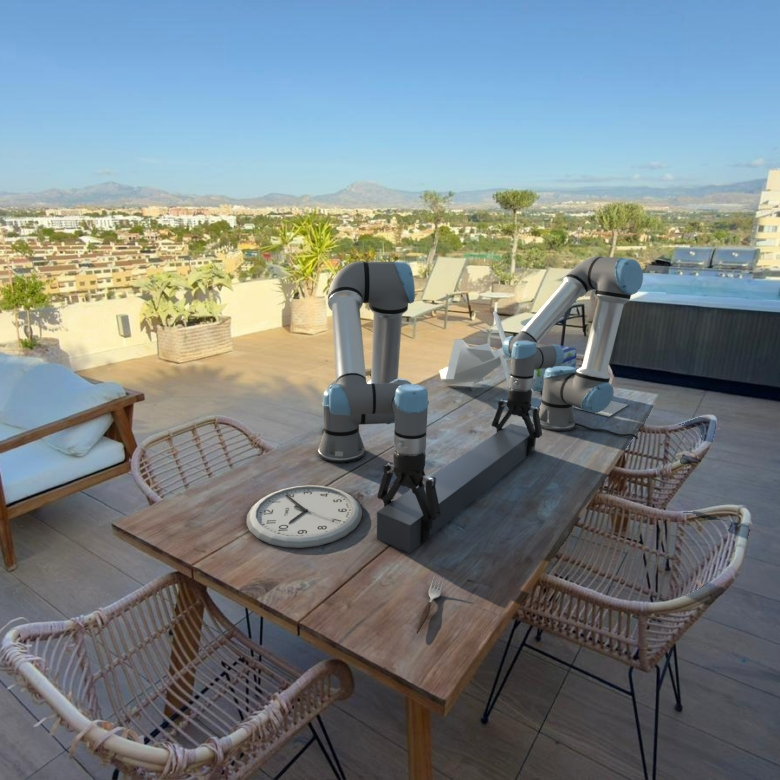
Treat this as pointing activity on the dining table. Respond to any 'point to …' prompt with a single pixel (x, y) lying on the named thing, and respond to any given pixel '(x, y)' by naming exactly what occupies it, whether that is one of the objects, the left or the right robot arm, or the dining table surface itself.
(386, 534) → the wide beam
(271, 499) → the wall clock
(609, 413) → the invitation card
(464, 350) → the white plastic object
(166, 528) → the dining table surface
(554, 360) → the right robot arm
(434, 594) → the fork
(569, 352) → the lunch box
